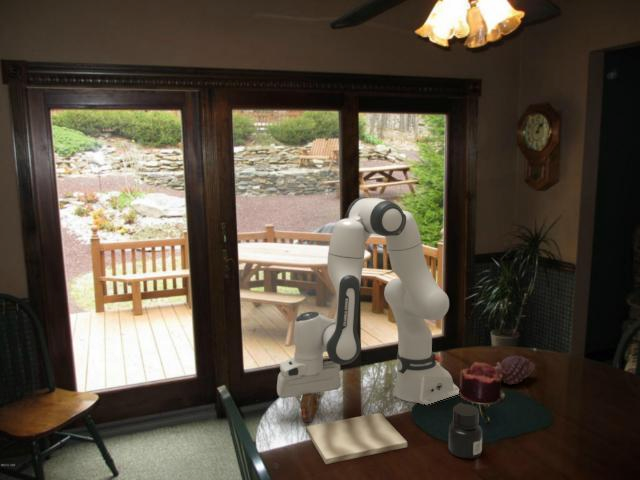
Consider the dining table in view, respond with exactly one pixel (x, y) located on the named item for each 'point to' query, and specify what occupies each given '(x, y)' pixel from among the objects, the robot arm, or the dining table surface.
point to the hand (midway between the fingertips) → (309, 405)
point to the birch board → (355, 437)
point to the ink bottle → (465, 432)
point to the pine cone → (514, 369)
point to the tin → (308, 407)
